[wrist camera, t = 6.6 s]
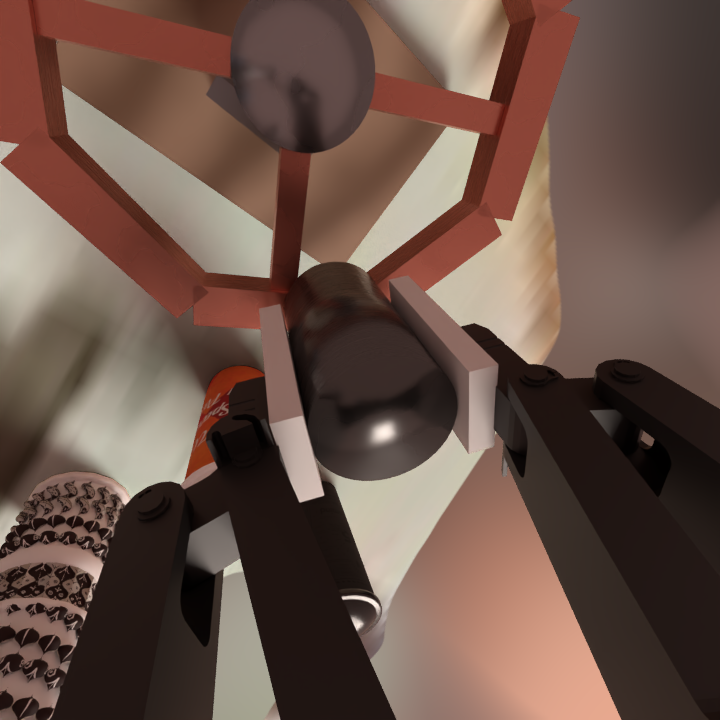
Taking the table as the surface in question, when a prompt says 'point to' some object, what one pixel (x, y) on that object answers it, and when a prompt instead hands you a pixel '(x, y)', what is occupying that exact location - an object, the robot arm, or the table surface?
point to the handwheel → (296, 192)
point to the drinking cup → (343, 558)
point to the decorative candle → (51, 585)
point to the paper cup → (214, 419)
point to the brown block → (242, 139)
